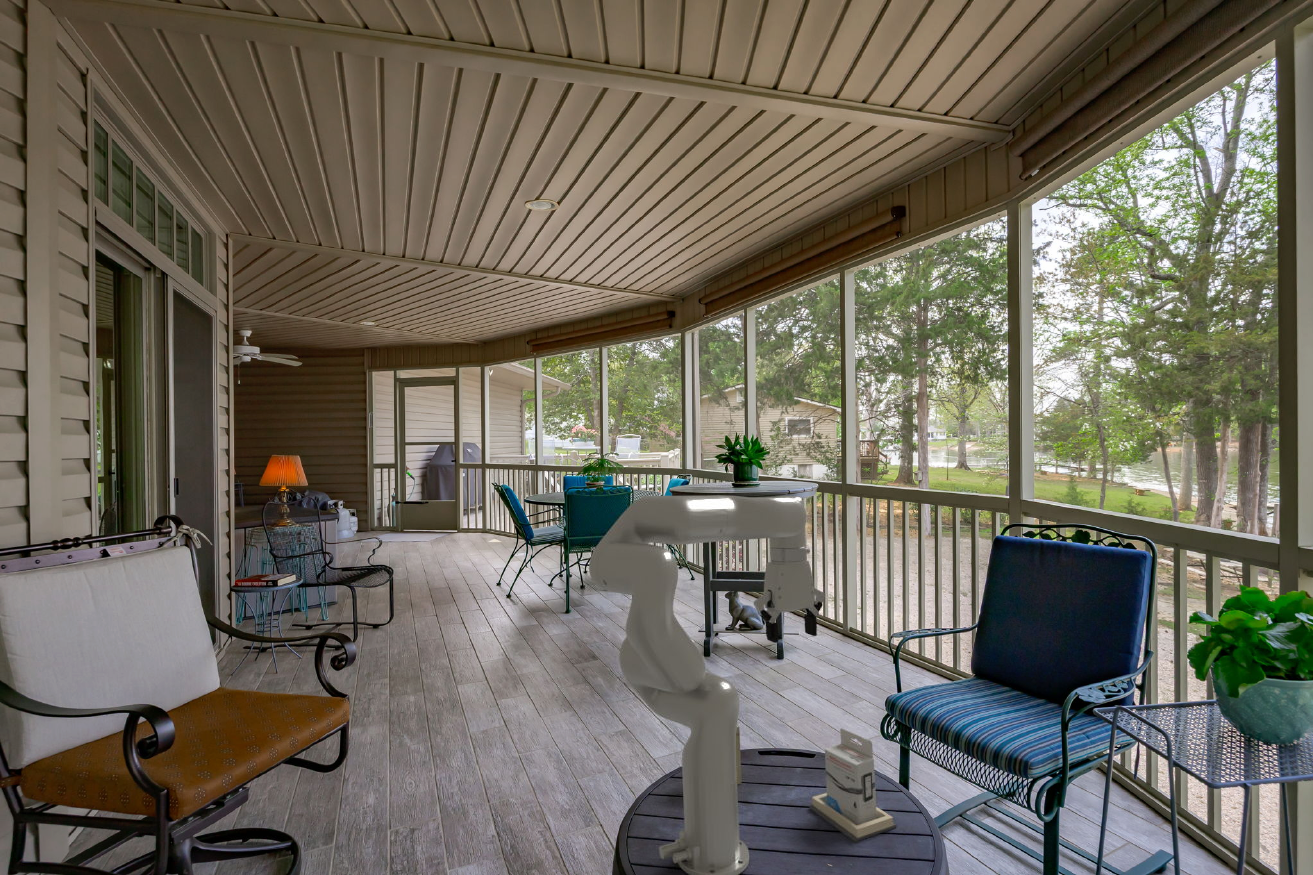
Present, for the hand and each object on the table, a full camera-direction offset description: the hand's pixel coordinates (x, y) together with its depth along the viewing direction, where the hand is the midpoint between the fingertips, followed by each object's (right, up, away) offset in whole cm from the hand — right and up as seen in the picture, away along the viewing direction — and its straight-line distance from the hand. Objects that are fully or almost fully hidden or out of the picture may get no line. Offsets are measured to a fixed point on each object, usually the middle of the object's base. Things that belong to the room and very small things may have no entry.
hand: (792, 637), depth 133 cm
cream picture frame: (+9, -32, -10) cm, 34 cm away
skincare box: (-13, -33, +6) cm, 36 cm away
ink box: (+9, -31, -10) cm, 34 cm away
